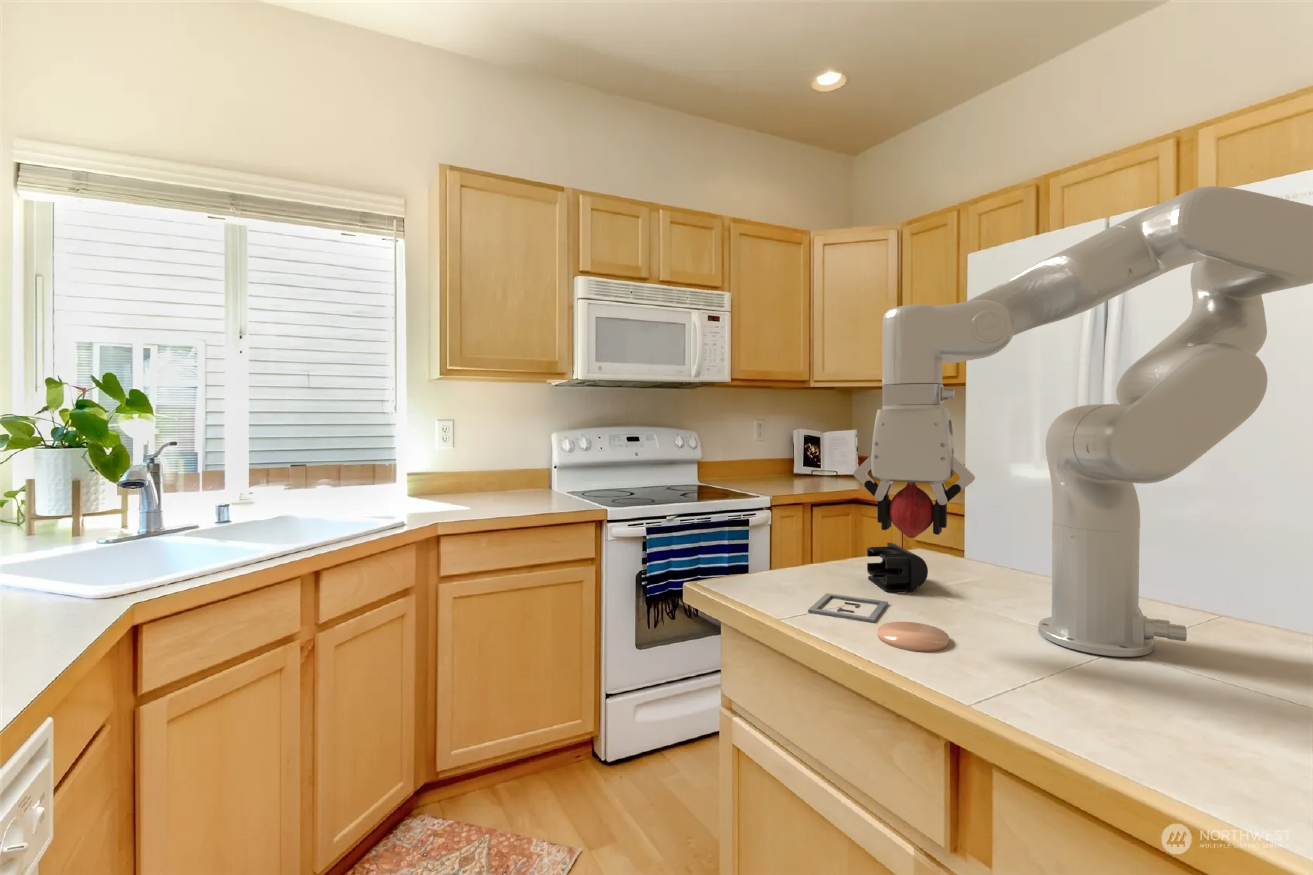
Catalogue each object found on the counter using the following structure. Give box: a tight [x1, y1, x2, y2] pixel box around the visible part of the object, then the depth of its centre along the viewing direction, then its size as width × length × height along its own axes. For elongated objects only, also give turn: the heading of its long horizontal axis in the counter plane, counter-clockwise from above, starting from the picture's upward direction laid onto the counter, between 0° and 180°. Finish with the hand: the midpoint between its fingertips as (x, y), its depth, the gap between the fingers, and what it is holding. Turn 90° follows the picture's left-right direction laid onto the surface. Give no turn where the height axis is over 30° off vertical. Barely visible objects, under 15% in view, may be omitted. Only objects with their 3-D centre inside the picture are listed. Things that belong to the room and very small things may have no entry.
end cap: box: [866, 542, 929, 594], centre depth 110 cm, size 10×7×7 cm
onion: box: [889, 482, 934, 539], centre depth 84 cm, size 6×6×8 cm
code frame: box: [807, 592, 889, 623], centre depth 98 cm, size 10×10×1 cm
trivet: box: [877, 621, 950, 652], centre depth 84 cm, size 9×9×1 cm
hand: (911, 529), depth 84 cm, fingers closed on onion, 5 cm apart
